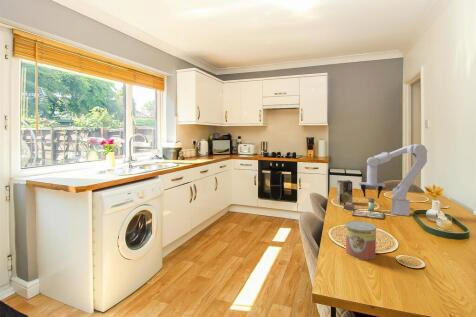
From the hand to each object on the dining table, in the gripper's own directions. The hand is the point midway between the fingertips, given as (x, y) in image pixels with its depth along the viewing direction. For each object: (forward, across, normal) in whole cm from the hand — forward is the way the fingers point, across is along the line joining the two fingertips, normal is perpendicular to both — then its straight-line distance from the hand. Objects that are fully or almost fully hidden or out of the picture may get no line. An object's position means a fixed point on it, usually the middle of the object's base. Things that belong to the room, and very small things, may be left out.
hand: (371, 197), depth 168 cm
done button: (+7, -13, -1) cm, 15 cm away
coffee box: (+9, -18, +14) cm, 25 cm away
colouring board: (+9, -1, -10) cm, 13 cm away
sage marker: (+9, 0, 0) cm, 9 cm away
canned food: (+9, 0, -69) cm, 70 cm away
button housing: (+9, -13, -1) cm, 16 cm away
